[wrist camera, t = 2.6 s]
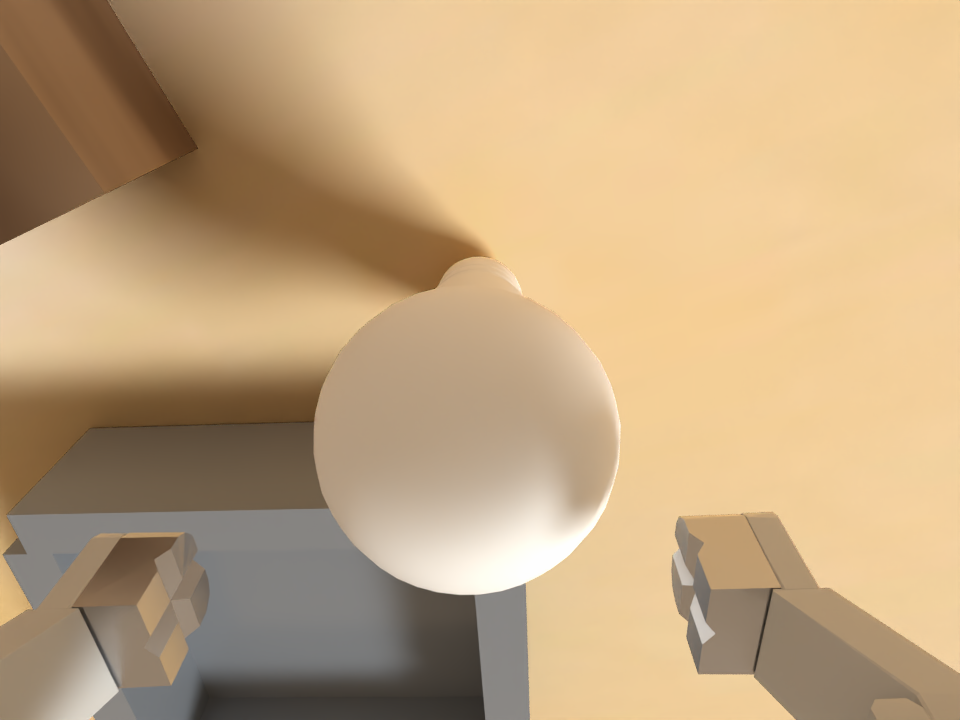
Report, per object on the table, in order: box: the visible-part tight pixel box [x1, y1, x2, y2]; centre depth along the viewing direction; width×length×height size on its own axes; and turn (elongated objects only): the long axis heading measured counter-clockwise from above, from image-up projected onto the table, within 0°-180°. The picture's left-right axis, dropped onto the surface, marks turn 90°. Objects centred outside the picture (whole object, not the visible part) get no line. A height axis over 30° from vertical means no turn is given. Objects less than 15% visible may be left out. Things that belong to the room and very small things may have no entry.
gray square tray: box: [3, 422, 530, 720], centre depth 25 cm, size 16×16×4 cm
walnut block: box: [0, 0, 198, 245], centre depth 16 cm, size 5×5×5 cm
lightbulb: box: [314, 257, 621, 595], centre depth 15 cm, size 6×6×11 cm
